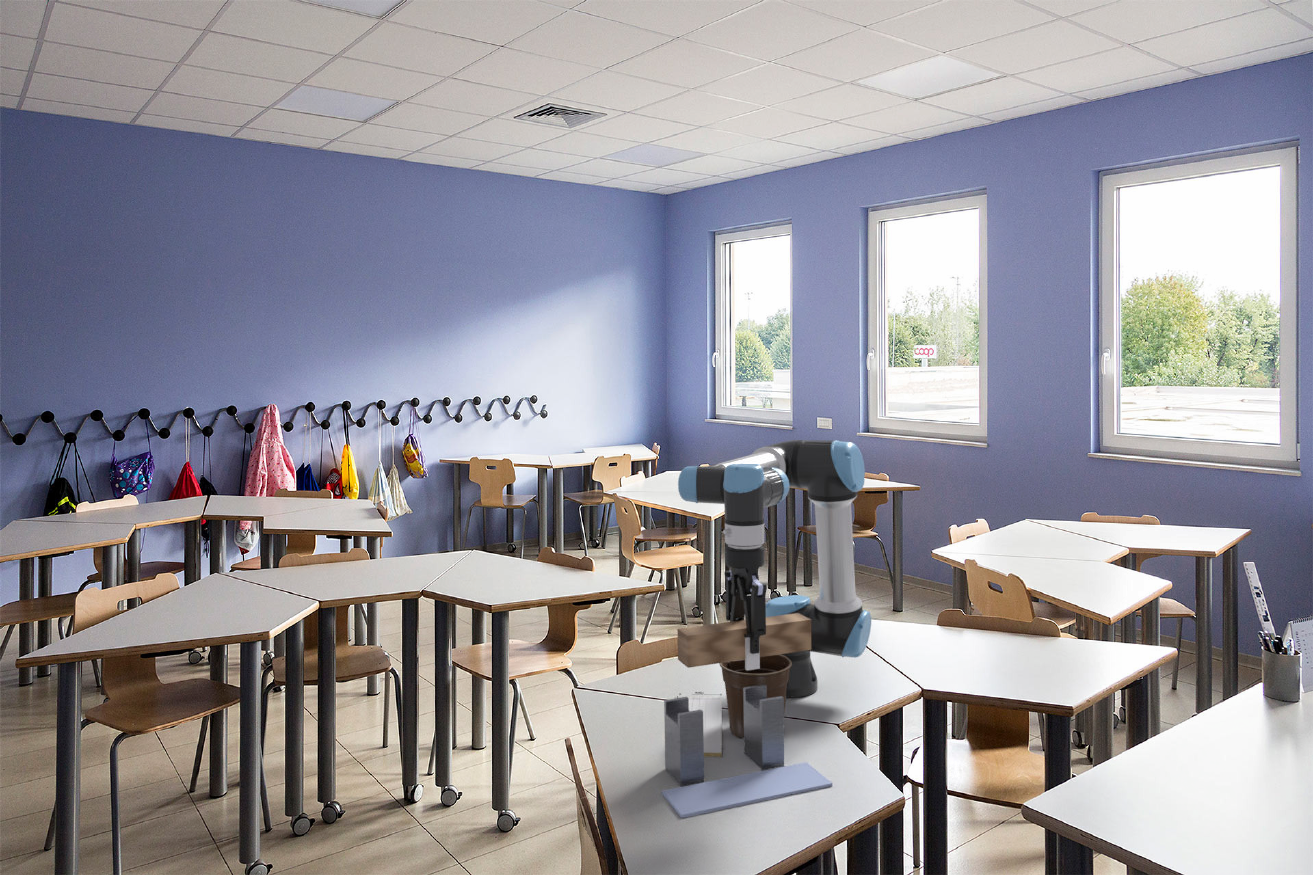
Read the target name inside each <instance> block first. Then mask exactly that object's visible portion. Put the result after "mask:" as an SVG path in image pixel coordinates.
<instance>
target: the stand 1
mask: <svg viewBox="0 0 1313 875" xmlns="http://www.w3.org/2000/svg"><path fill="white" fill-rule="evenodd" d="M689 698H690V697H689ZM689 698H688V696H681V697H676V698H675V697H674V698H669V699H664V701H663V706H664V708H663V709H664V710H663V711H664V712H663V714H664V715H663V716H664V749H665V750H664V757H665V758H664V759H665V760H664V762H665V763H664V764H665V765H664V766H665V767H664V768H665V770H666V771H667V773H669V775H670V776H671V778H673V779H674V781H675V782H676V783H677V784H678V785H679V787H684V786H689V785H694V784H699V783H704V782H705V759H704V758H705V757H704V737H703V711H702V710H695V711H689Z"/></svg>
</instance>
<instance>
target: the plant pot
mask: <svg viewBox="0 0 1313 875" xmlns="http://www.w3.org/2000/svg"><path fill="white" fill-rule="evenodd" d="M718 664H719V667H720V668H721V673H722V674H721V675H722V680H723V682H724V688H725V694H726V696H725V697H726V703H727V704H726V705H727V706H726V707H727V712H728V713H727V714H728V715H727V716H728V723H729V732H730V733H731V734H732V735H733V736H734V737H736V738H743V739H744V698H743V687H750V686H756V685H762V684H765V685H766V686H767V698H773V697H779V696H782V697H783V698H784V716H785V712H786V700H787V697H786V688H787V682H788V680H789V669H790V667H791V665H792V662H791V660H790V659H789V658H787V657H786V656H784V655H781V654H779V655H772V656H765V657H760V669H754V670H746V669H745V660H739V661H731V662H724V663H718Z"/></svg>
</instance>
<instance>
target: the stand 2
mask: <svg viewBox="0 0 1313 875" xmlns="http://www.w3.org/2000/svg"><path fill="white" fill-rule="evenodd" d="M743 698H744V738H743V754H744V755H745V756H746V757H747V758H748V759H749V760H751V762H753V764H755V766H756V767H758V768H759V769H760V770H761V771H764V770H769V769H774V768H779V767H784V766H785V715H784V698H783V697H782V696H779V697H773V698H767V686H766V685H765V684H762V685H756V686H750V687H743Z"/></svg>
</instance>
